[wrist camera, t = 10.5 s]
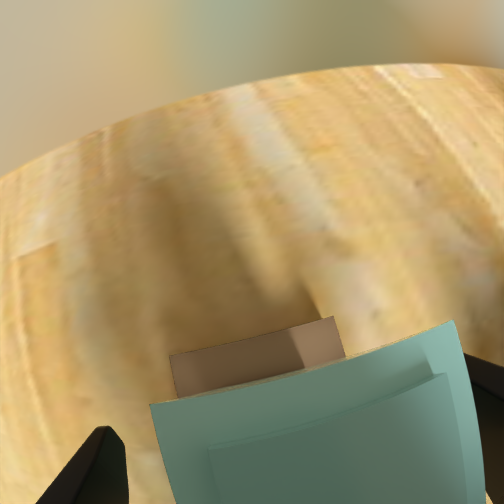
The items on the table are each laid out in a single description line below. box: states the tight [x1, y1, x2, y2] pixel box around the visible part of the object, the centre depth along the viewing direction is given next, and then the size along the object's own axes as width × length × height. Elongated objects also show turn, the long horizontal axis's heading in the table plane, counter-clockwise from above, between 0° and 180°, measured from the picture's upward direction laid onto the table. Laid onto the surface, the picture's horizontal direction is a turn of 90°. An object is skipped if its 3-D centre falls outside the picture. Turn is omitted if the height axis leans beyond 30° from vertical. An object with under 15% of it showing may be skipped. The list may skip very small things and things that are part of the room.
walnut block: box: [169, 316, 346, 398], centre depth 16 cm, size 9×9×3 cm
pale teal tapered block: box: [149, 320, 486, 504], centre depth 9 cm, size 4×4×13 cm
